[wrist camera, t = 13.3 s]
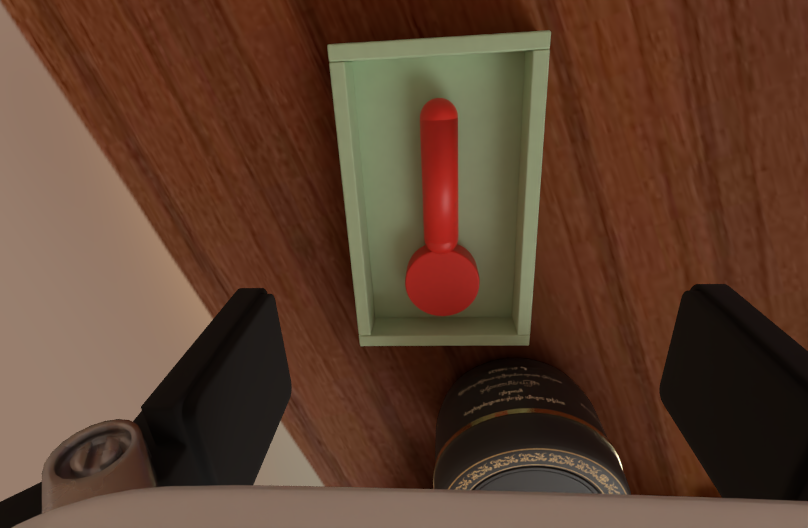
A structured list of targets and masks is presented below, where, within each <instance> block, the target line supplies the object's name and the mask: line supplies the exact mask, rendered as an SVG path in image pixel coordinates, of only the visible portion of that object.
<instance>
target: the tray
mask: <svg viewBox="0 0 808 528" xmlns="http://www.w3.org/2000/svg"><path fill="white" fill-rule="evenodd" d="M550 38H551V31H549V30H547V31H531V32H515V33H499V34H483V35H467V36H451V37H435V38H419V39H403V40H387V41H371V42H355V43H340V44H328V45H327V50H328V59H329V62H330V63H329V68H330V77H331V86H332V95H333V104H334V113H335V122H336V132H337V141H338V150H339V159H340V168H341V177H342V186H343V196H344V205H345V214H346V223H347V232H348V241H349V250H350V259H351V269H352V278H353V287H354V296H355V305H356V314H357V323H358V333H359V342H360V346H517V345H529V341H530V335H529V334H530V328H531V313H532V299H533V284H534V270H535V256H536V241H537V227H538V212H539V198H540V183H541V169H542V155H543V140H544V126H545V111H546V97H547V83H548V68H549V54H550V50H549V48H550ZM434 98H444V99H447V100H449V101H450V102H451V103H453V105H454V106H455V108H456V110H457V113H458V243H457V244H458V245H461V246H462V247H464V248H465V249H466V250H468V251H469V252H470V253H471V255H472V256H473V258H474V259H475V261H476V264H477V268H478V274H479V280H480V285H479V291H478V294H477V296H476V298H475V300H474V301H473V302H472V303H471V304H470V305H469V306H468V307H467V308H466V309H465V310H463V311H461V312H459V313H457V314H454V315H449V316H436V315H431V314H428V313H426V312H424V311H422V310H420V309H419V308H418V307H416V306H415V305H414V304H413V302H412V301H411V300H410V298H409V297H408V294H407V292H406V287H405V278H406V272H407V266H408V263H409V260H410V258H411V257H412V255H413V254H414V253H415V252H416V251H417V250H418V249H419V248H421V247H422V246H424V245H426V244H425V241H424V223H423V196H422V169H421V141H420V113H421V110H422V108H423V106H424V105H425V104H426V103H427V102H428V101H430V100H431V99H434Z"/></svg>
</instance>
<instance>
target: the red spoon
mask: <svg viewBox="0 0 808 528" xmlns="http://www.w3.org/2000/svg"><path fill="white" fill-rule="evenodd" d="M420 141H421V169H422V196H423V223H424V241H425V244H426V245H424V246H422V247H421V248H419V249H418V250H417V251H416V252H415V253H414V254H413V255H412V257H411V258H410V260H409V263H408V266H407V272H406V278H405V287H406V292H407V294H408V297H409V298H410V300H411V301H412V302H413V304H414V305H415V306H416V307H418V308H419V309H420V310H422V311H424V312H426V313H428V314H431V315H436V316H449V315H454V314H457V313H459V312H461V311H463V310H465V309H466V308H467V307H468V306H469V305H470V304H471V303H472V302H473V301H474V300H475V298H476V296H477V294H478V291H479V285H480V280H479V274H478V268H477V264H476V261H475V259H474V258H473V256H472V255H471V253H470V252H469V251H468V250H466V249H465V248H464V247H462V246H461V245H458V244H457V243H458V113H457V110H456V108H455V106H454V105H453V103H451V102H450V101H449V100H447V99H444V98H434V99H431V100H430V101H428V102H427V103H426V104H425V105H424V106H423V108H422V110H421V113H420Z"/></svg>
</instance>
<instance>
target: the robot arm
mask: <svg viewBox="0 0 808 528" xmlns="http://www.w3.org/2000/svg"><path fill="white" fill-rule="evenodd" d="M290 396H291V379H290V374H289V368H288V363H287V358H286V353H285V348H284V343H283V338H282V333H281V327H280V322H279V317H278V312H277V307H276V302H275V298H274V296H273V295H272V294H267V291H266V290H265V289H264V288H240V289H238V290H237V291H236V292H235V294H234V295H233V296H232V297H231V298H230V300H229V301H228V302H227V303H226V304H225V306H224V307H223V308H222V309H221V311H220V312H219V313H218V314H217V315H216V317H215V318H214V319H213V320H212V321H211V323H210V324H209V325H208V326H207V327H206V329H205V330H204V331H203V332H202V334H201V335H200V336H199V337H198V339H197V340H196V341H195V342H194V343H193V345H192V346H191V347H190V348H189V349H188V350H187V352H186V353H185V354H184V355H183V357H182V358H181V359H180V360H179V361H178V363H177V364H176V365H175V366H174V367H173V369H172V370H171V371H170V372H169V373H168V375H167V376H166V377H165V378H164V380H163V381H162V382H161V383H160V384H159V386H158V387H157V388H156V389H155V390H154V392H153V393H152V394H151V395H150V397H149V398H148V399H147V400H146V401H145V403H144V404H143V405H142V406H141V408H142V411H141V412H140V414H139V415H138V416H137V417H136V419H135V420H134V421H133V422H132V421H130V420H121V419H116V420H110V421H104V422H101V423H98V424H94V425H91V426H89V427H87V428H85V429H83V430H81V431H79V432H77V433H75V434H74V435H72V436H71V437H70V438H68V439H67V440H65V441H63V442H62V443H61V444H60V445H59V446H58V447H57V448H56V449H55V450H54V451H53V452H52V453H51V454H50V456H49V457H48V459H47V460H46V462H45V464H44V467H43V471H42V482H40V483H38V484H36V485H34V486H32V487H30V488H28V489H26V490H24V491H22V492H20V493H18V494H16V495H14V496H12V497H10V498H7V499H5V500H3V501H1V502H0V528H808V351H807V350H806V349H804V348H803V347H802V346H801V345H799V344H798V343H797V342H796V341H795V340H793V339H792V338H791V337H790V336H789V335H787V334H786V333H785V332H784V331H783V330H781V329H780V328H779V327H778V326H776V325H775V324H774V323H773V322H772V321H770V320H769V319H768V318H767V317H766V316H764V315H763V314H762V313H761V312H760V311H758V310H757V309H756V308H755V307H753V306H752V305H751V304H750V303H749V302H747V301H746V300H745V299H744V298H743V297H741V296H740V295H739V294H738V293H737V292H735V291H734V290H733V289H732V288H730V287H729V286H728V285H726V284H696V285H694V286H693V287H692V288H691V289H690V291H686V292H684V294H683V295H682V298H681V302H680V306H679V310H678V314H677V318H676V323H675V327H674V331H673V335H672V339H671V343H670V347H669V351H668V355H667V359H666V363H665V367H664V371H663V375H662V379H661V383H660V397H661V400H662V402H663V404H664V406H665V407H666V409H667V411H668V412H669V414H670V415H671V417H672V418H673V420H674V422H675V423H676V425H677V426H678V428H679V430H680V431H681V433H682V434H683V436H684V438H685V439H686V441H687V442H688V444H689V446H690V447H691V449H692V450H693V452H694V453H695V455H696V457H697V458H698V460H699V461H700V463H701V465H702V466H703V468H704V469H705V471H706V473H707V474H708V476H709V477H710V479H711V481H712V482H713V484H714V485H715V487H716V488H717V490H718V492H719V493H720V495H721V496H722V498H711V497H681V496H651V495H621V494H590V493H555V492H520V491H484V490H447V489H405V488H360V487H313V486H312V487H311V486H260V485H253V484H254V482H255V479H256V477H257V474H258V472H259V470H260V468H261V465H262V463H263V460H264V458H265V456H266V453H267V451H268V449H269V446H270V444H271V441H272V439H273V437H274V435H275V432H276V430H277V427H278V425H279V423H280V420H281V418H282V416H283V413H284V411H285V409H286V406H287V404H288V401H289V399H290Z"/></svg>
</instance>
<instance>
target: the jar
mask: <svg viewBox="0 0 808 528" xmlns="http://www.w3.org/2000/svg"><path fill="white" fill-rule="evenodd" d="M433 486H434V489H447V490H484V491H520V492H555V493H590V494H621V495H631V492H630V489H629V485H628V482H627V479H626V477H625V474H624V472H623V469H622V464H621V461H620V459H619V457H618V455H617V452H616V450H615V448H614V447H613V445H612V444H611V442H610V441H609V440H608V438H607V436H606V434H605V432H604V429H603V427H602V425H601V423H600V420H599V418H598V416H597V414H596V411H595V409H594V407H593V406H592V404H591V402H590V400H589V399H588V397H587V396H586V395H585V394H584V392H583V391H582V390H581V389H580V388H579V387H578V386H577V385H576V384H575V383H574V382H573V381H572V380H571V379H570V378H569V377H568V376H567V375H566V374H564V373H563V372H561V371H560V370H558V369H556V368H555V367H553V366H550V365H548V364H545V363H542V362H539V361H535V360H530V359H521V358H510V359H501V360H495V361H491V362H488V363H485V364H482V365H480V366H477V367H475V368H473V369H472V370H470V371H468V372H467V373H465V374H464V375H463V376H461V377H460V378H459V379H458V380H457V381H456V382H455V383H454V384H453V385H452V387H451V388H450V390H449V391H448V393H447V395H446V397H445V399H444V401H443V404H442V406H441V409H440V412H439V415H438V418H437V424H436V446H435V466H434V472H433Z"/></svg>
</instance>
